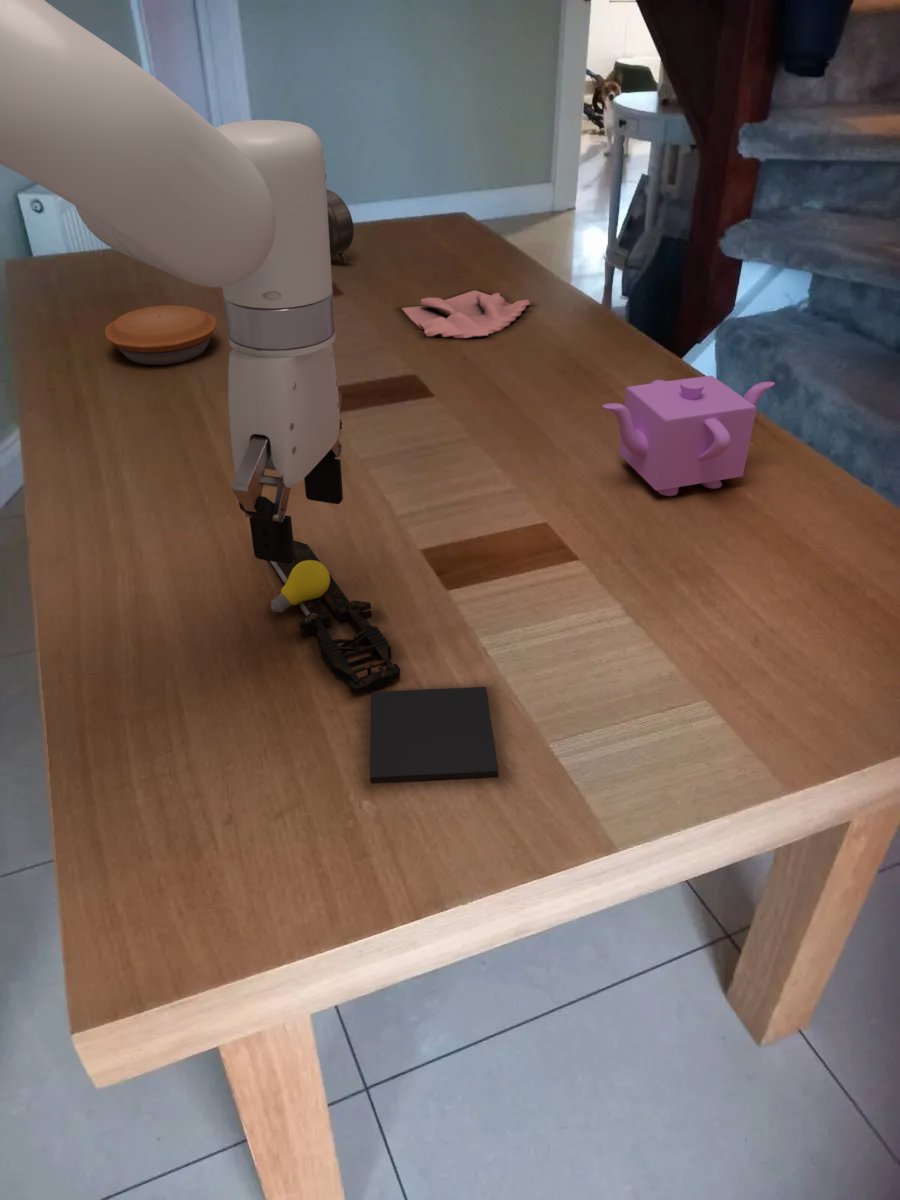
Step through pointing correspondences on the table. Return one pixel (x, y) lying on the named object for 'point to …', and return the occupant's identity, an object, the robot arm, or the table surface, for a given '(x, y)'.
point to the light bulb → (302, 585)
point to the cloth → (465, 315)
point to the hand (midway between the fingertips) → (301, 528)
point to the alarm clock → (339, 225)
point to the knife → (328, 646)
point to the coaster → (431, 735)
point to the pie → (162, 334)
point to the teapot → (686, 431)
